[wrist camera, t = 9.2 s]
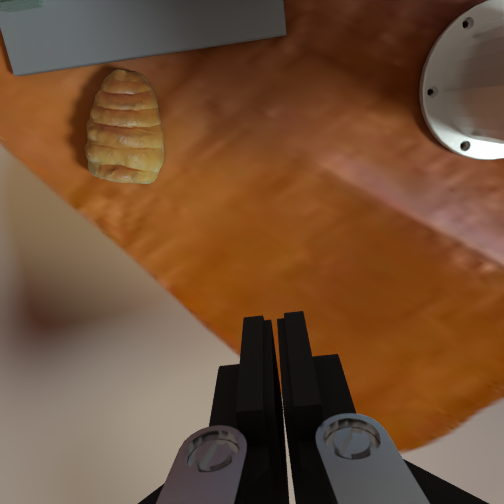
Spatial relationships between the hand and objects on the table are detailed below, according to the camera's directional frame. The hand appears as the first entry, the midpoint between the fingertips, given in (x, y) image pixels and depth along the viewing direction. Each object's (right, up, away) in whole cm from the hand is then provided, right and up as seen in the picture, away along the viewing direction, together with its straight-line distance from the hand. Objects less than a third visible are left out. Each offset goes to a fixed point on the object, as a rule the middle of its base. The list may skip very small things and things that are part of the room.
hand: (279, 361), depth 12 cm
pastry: (-12, +14, +27) cm, 32 cm away
